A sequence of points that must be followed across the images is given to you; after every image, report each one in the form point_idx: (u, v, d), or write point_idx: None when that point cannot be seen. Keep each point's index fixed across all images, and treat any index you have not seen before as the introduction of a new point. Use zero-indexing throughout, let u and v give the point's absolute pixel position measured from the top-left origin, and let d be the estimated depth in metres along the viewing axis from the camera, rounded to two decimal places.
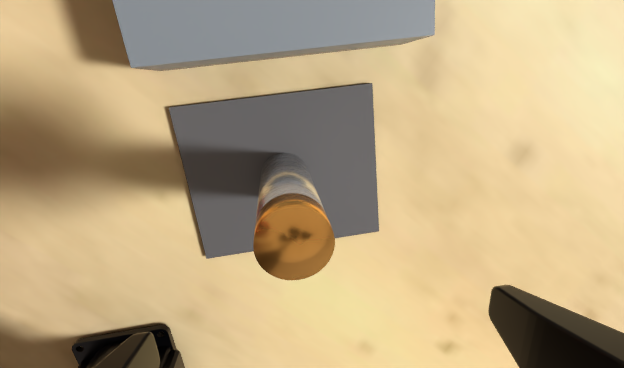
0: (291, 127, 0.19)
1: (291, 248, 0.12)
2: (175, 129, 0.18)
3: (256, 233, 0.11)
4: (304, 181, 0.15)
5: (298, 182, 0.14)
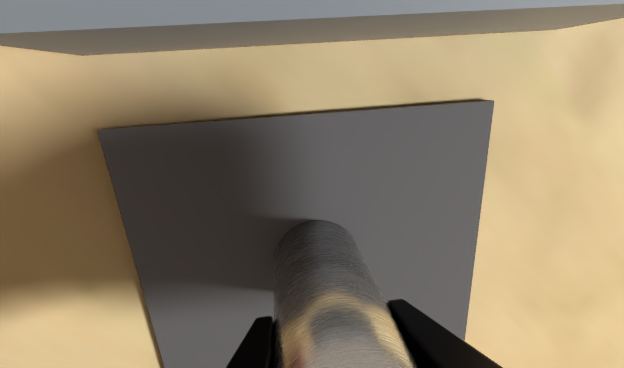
0: (335, 175, 0.10)
1: None
2: (111, 173, 0.09)
3: None
4: (399, 358, 0.06)
5: None
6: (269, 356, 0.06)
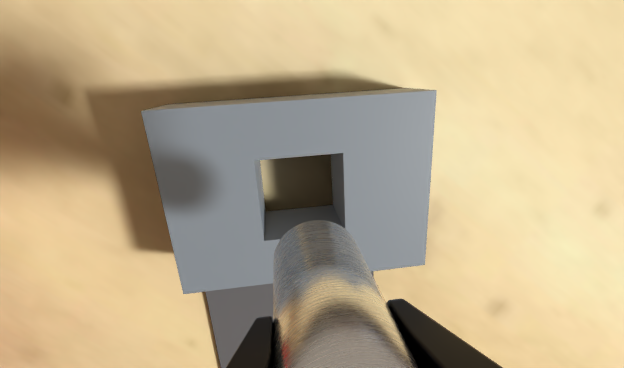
0: None
1: None
2: (207, 298, 0.22)
3: None
4: (400, 359, 0.06)
5: None
6: (269, 356, 0.06)
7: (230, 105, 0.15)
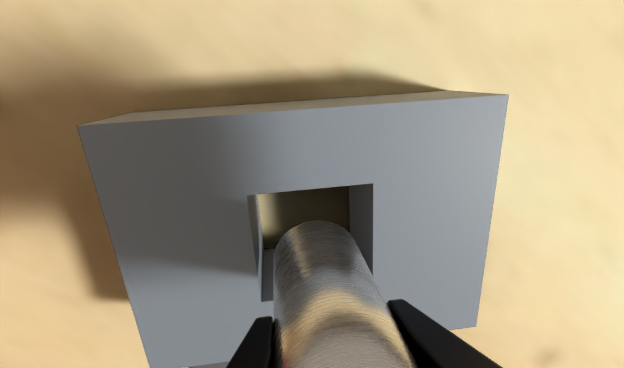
0: None
1: None
2: None
3: None
4: (400, 359, 0.06)
5: None
6: (269, 356, 0.06)
7: (211, 117, 0.10)
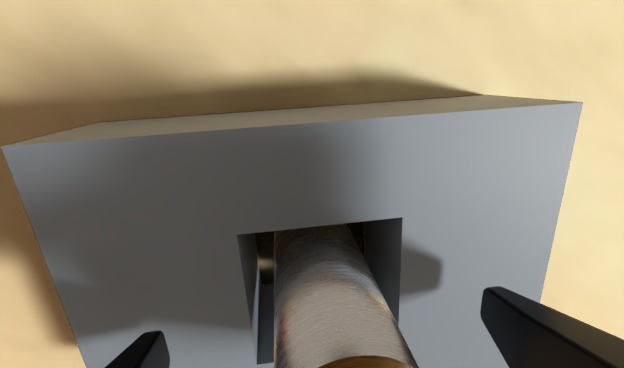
0: None
1: None
2: None
3: None
4: (368, 288, 0.07)
5: (362, 300, 0.07)
6: None
7: (187, 133, 0.07)
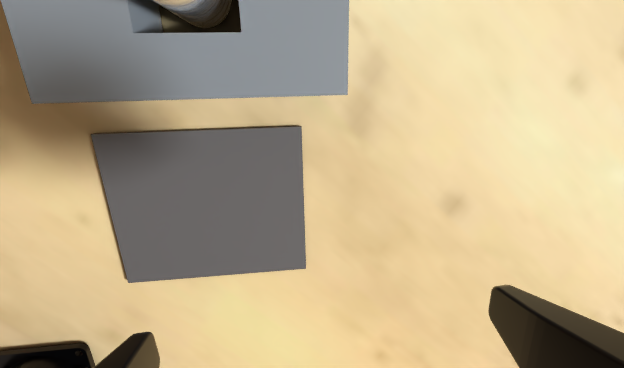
0: (217, 162, 0.19)
1: None
2: (97, 156, 0.18)
3: None
4: None
5: None
6: None
7: None
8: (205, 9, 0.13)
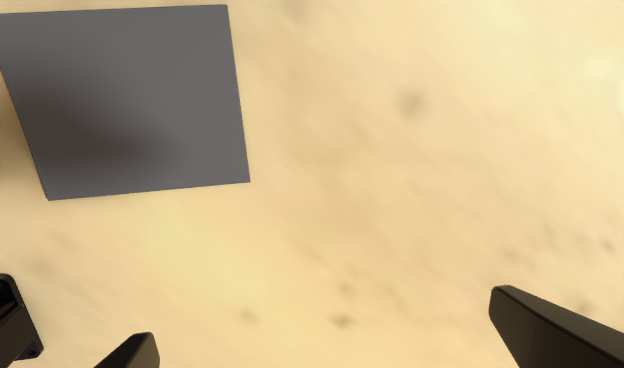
0: (133, 50, 0.17)
1: None
2: None
3: None
4: None
5: None
6: None
7: None
8: None
